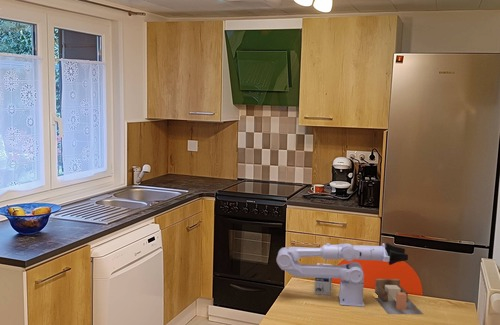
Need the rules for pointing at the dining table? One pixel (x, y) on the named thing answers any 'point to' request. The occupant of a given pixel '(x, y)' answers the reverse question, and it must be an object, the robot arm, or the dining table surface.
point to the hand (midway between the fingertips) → (406, 254)
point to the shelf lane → (391, 305)
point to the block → (396, 296)
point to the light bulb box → (323, 284)
